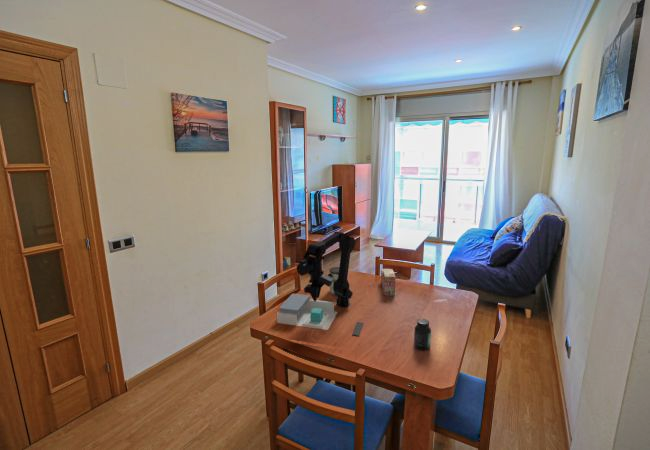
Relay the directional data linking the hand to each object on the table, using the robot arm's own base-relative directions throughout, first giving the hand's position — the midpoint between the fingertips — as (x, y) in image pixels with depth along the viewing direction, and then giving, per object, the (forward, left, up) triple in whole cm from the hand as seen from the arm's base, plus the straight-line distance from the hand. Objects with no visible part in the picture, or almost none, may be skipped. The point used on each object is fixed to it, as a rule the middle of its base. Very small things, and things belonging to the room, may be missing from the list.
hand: (316, 299), depth 166 cm
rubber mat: (-17, +2, -12) cm, 21 cm away
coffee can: (-1, -39, -12) cm, 41 cm away
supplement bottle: (-51, +9, -12) cm, 53 cm away
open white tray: (+5, -2, -12) cm, 13 cm away
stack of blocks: (-30, -51, -12) cm, 60 cm away
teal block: (0, 0, -11) cm, 11 cm away
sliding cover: (+12, -2, -5) cm, 13 cm away
